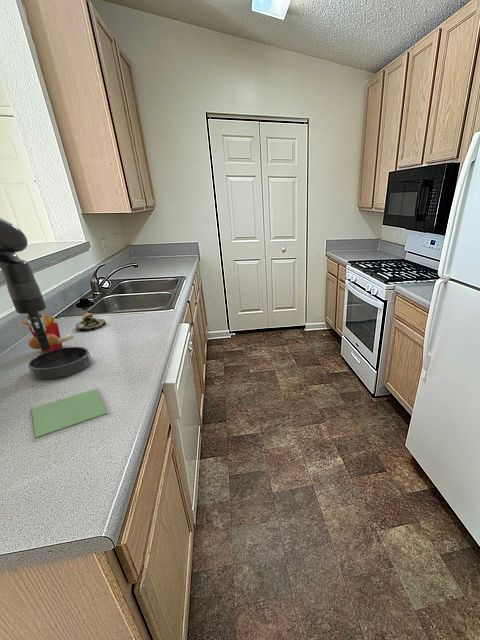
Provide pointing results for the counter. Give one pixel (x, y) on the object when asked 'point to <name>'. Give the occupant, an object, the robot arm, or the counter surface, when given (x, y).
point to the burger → (89, 322)
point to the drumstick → (49, 340)
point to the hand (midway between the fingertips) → (45, 346)
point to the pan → (59, 363)
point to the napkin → (67, 412)
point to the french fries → (48, 330)
